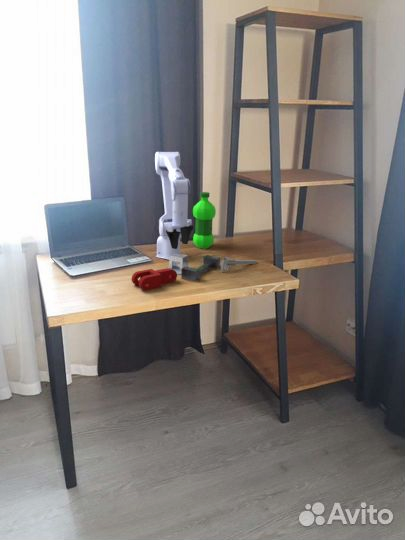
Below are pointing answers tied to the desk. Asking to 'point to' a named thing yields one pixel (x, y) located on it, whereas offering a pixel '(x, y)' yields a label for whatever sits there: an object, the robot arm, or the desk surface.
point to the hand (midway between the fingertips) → (179, 246)
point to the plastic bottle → (203, 222)
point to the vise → (200, 268)
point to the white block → (178, 260)
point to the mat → (178, 269)
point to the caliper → (233, 262)
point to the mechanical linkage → (153, 278)
